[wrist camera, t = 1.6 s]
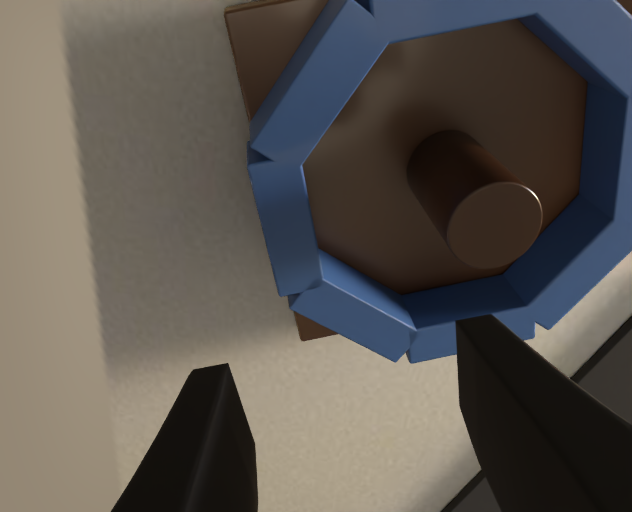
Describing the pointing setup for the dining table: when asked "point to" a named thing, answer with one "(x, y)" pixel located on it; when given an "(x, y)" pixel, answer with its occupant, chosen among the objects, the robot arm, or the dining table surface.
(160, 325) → the dining table surface
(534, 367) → the robot arm
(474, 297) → the ring
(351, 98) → the platform
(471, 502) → the mat
